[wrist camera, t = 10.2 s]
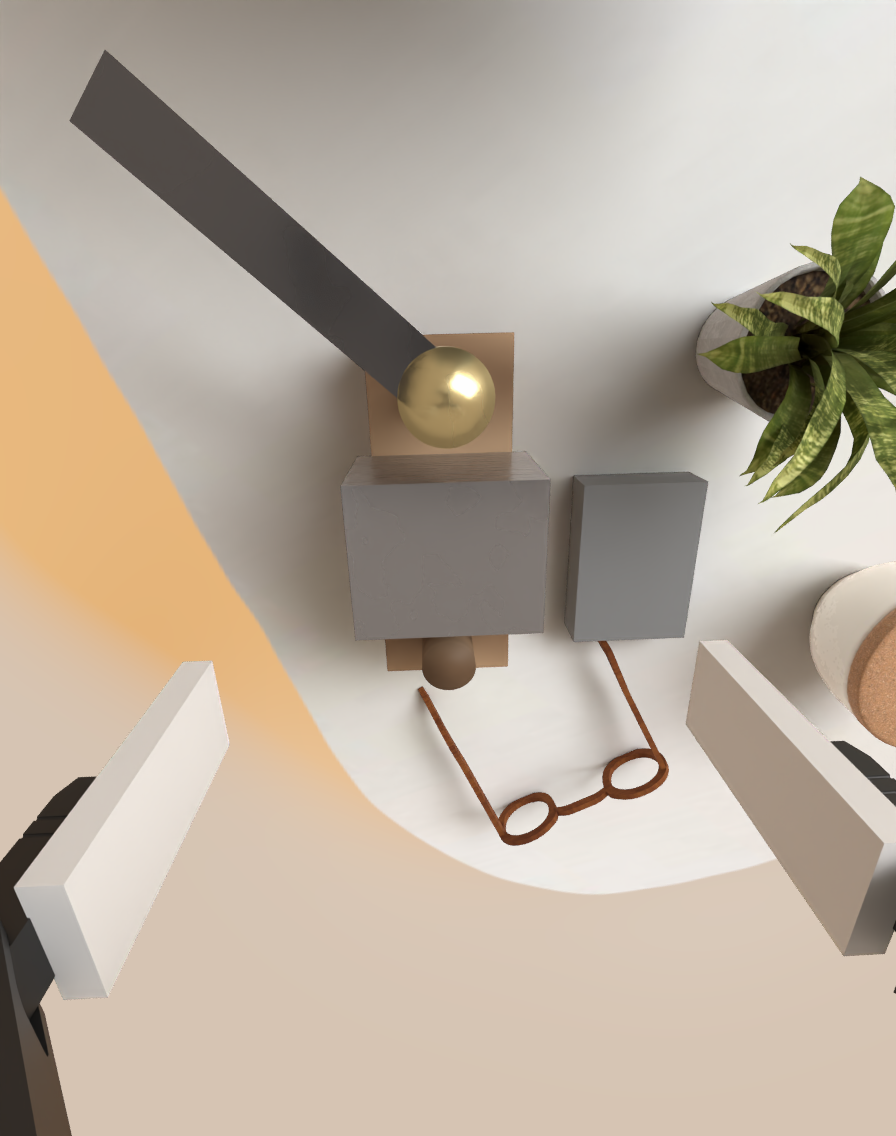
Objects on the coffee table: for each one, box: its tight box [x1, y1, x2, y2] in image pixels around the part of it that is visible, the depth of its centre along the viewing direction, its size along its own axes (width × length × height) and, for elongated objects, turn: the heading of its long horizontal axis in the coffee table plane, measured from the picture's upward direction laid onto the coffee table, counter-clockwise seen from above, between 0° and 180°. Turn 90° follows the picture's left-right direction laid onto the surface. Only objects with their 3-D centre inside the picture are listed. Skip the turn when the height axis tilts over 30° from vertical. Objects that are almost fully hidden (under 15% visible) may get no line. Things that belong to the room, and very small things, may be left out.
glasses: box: [418, 641, 669, 846], centre depth 39 cm, size 13×13×5 cm
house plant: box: [696, 177, 896, 532], centre depth 23 cm, size 14×14×16 cm
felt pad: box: [565, 472, 708, 642], centre depth 35 cm, size 10×7×2 cm
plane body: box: [365, 332, 514, 690], centre depth 28 cm, size 18×7×12 cm, turn 1°
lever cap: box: [340, 451, 551, 640], centre depth 27 cm, size 7×8×6 cm
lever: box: [70, 50, 495, 449], centre depth 18 cm, size 14×3×2 cm, turn 50°
